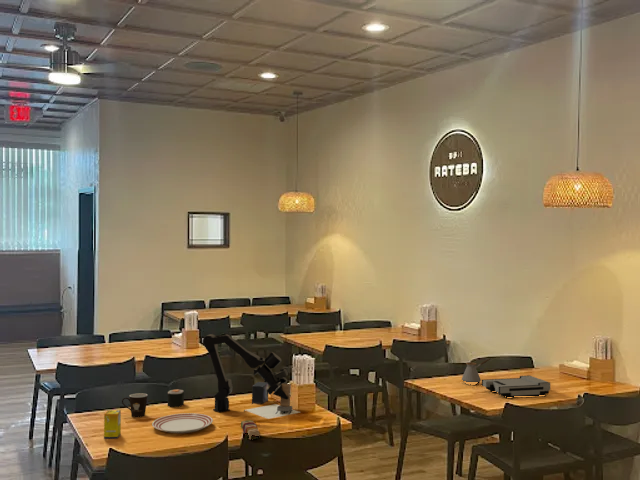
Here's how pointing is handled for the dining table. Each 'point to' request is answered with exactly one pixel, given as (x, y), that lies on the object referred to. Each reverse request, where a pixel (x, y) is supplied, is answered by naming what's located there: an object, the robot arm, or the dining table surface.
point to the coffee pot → (472, 372)
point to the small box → (259, 393)
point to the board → (270, 411)
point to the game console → (518, 386)
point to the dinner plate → (182, 422)
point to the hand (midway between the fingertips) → (288, 397)
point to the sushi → (175, 398)
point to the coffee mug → (137, 404)
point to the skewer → (250, 428)
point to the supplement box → (112, 424)
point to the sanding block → (285, 403)
